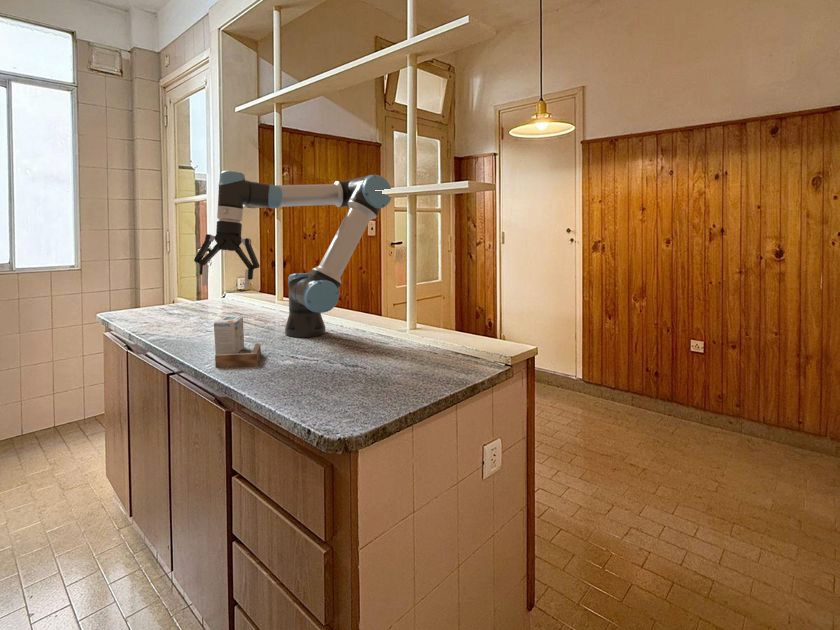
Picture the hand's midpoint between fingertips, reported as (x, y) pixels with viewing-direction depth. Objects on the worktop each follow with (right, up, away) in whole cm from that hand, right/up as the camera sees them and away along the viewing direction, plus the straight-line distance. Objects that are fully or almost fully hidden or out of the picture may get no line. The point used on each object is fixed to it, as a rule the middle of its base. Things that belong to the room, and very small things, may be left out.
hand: (225, 287), depth 167 cm
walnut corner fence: (+8, -23, -10) cm, 26 cm away
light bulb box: (+1, -21, +1) cm, 21 cm away
